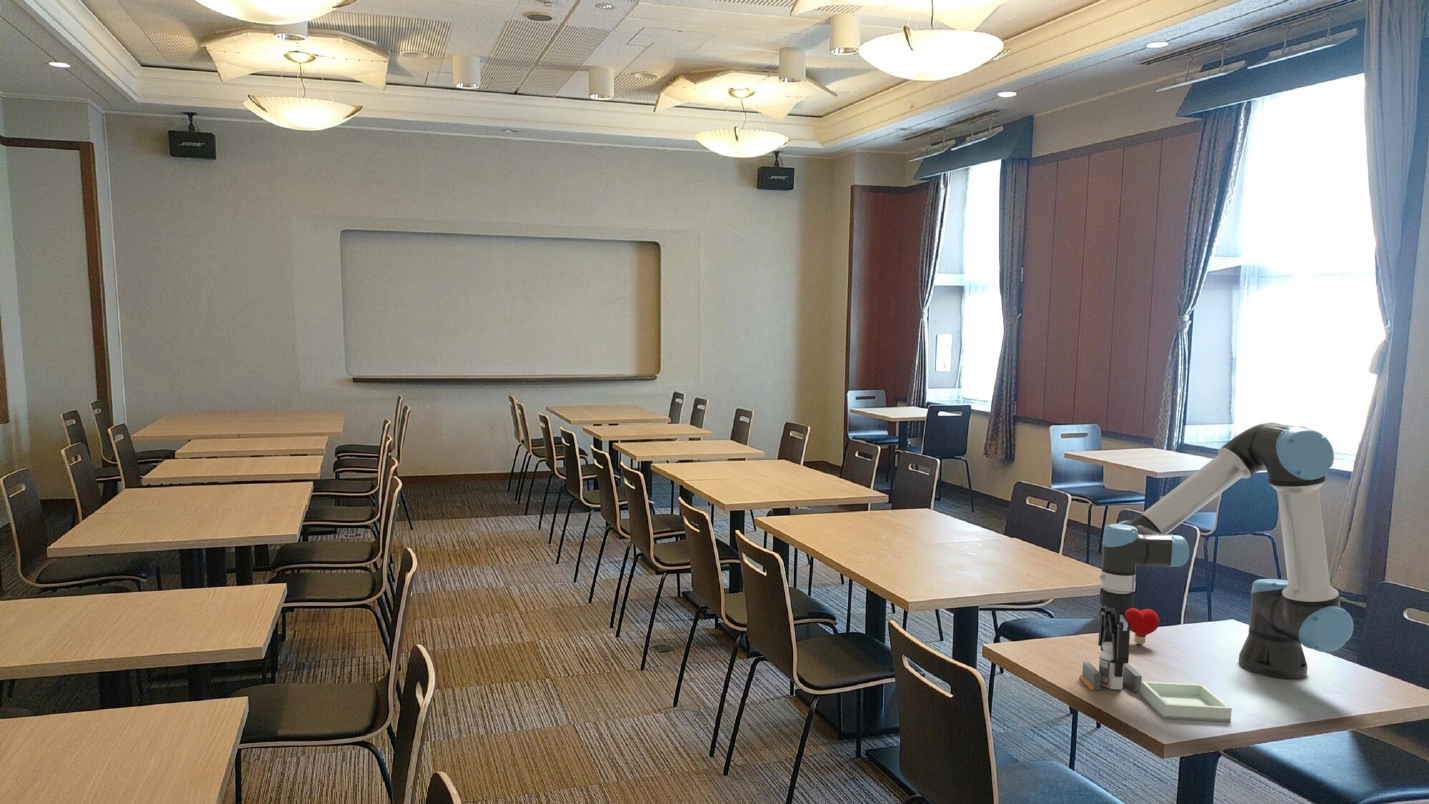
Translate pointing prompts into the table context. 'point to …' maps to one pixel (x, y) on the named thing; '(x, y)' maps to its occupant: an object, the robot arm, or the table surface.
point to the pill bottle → (1106, 664)
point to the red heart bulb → (1142, 623)
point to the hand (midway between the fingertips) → (1110, 683)
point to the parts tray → (1185, 701)
